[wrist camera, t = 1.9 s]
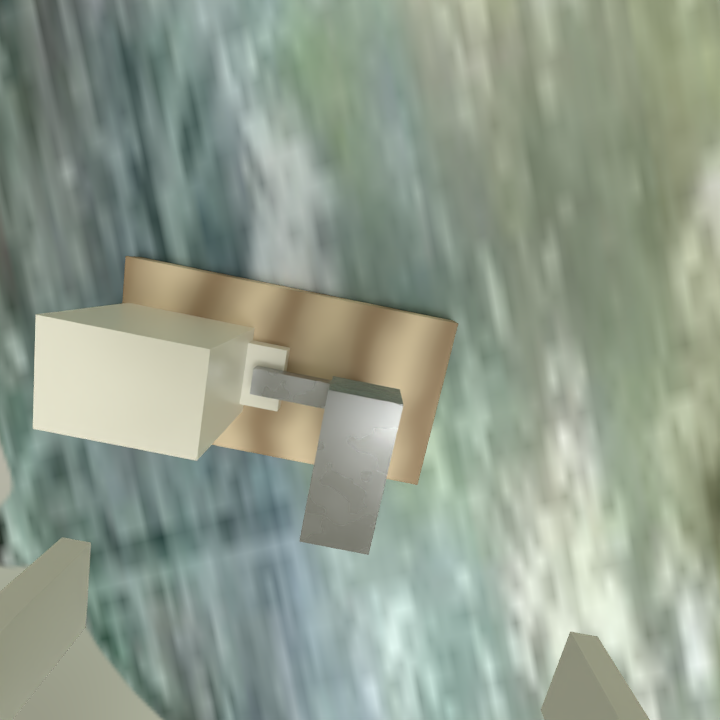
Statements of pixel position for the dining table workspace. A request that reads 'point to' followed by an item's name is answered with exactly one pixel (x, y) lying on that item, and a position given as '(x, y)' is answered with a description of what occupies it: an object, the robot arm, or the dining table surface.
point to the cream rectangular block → (146, 376)
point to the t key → (341, 452)
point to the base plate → (312, 353)
